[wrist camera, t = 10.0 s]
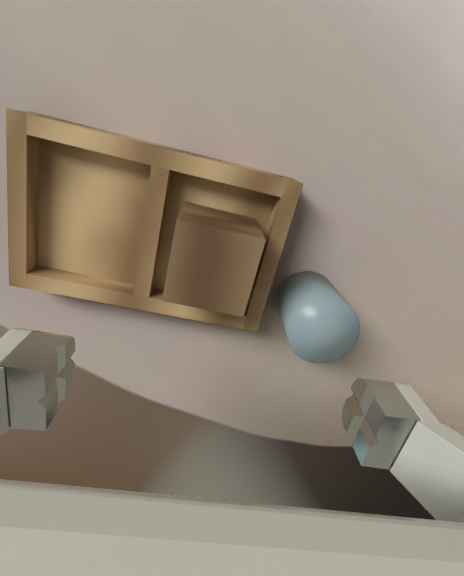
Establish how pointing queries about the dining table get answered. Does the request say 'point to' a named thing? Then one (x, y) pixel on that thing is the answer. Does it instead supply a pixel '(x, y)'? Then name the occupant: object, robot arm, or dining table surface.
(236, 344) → the dining table surface
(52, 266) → the wooden tray
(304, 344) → the grey capsule
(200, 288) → the walnut block
